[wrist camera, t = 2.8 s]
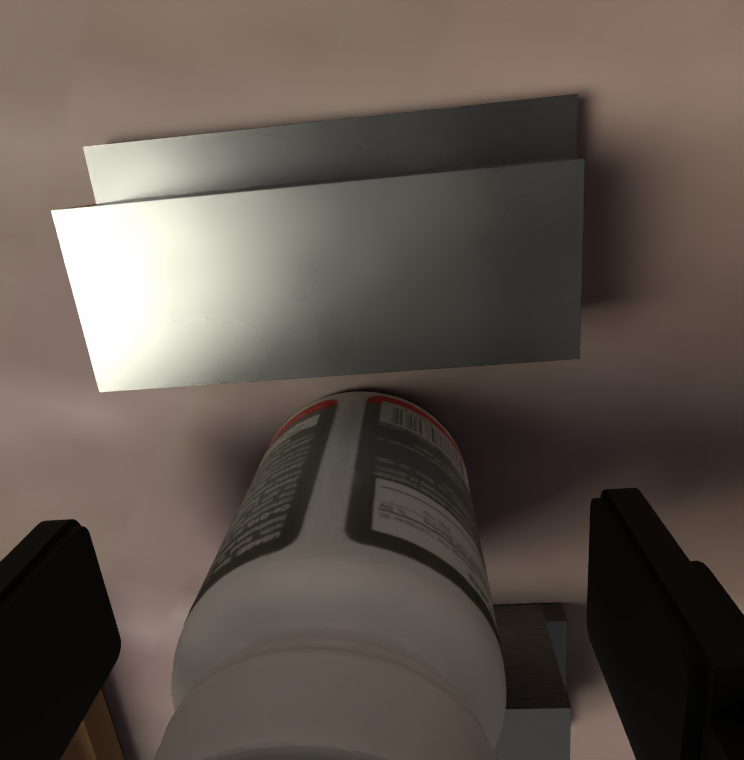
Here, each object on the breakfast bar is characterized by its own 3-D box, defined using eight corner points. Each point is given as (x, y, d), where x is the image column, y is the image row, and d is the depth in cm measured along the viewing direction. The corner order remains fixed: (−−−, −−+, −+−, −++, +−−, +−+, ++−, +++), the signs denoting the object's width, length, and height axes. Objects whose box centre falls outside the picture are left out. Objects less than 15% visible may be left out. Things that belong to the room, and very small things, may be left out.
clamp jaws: (569, 97, 11) (624, 76, 8) (559, 724, 16) (590, 842, 13) (98, 147, 12) (0, 144, 9) (233, 729, 17) (198, 842, 14)
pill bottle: (282, 570, 15) (144, 1019, 7) (247, 395, 13) (22, 728, 6) (474, 559, 15) (547, 1024, 7) (461, 377, 13) (539, 710, 5)
